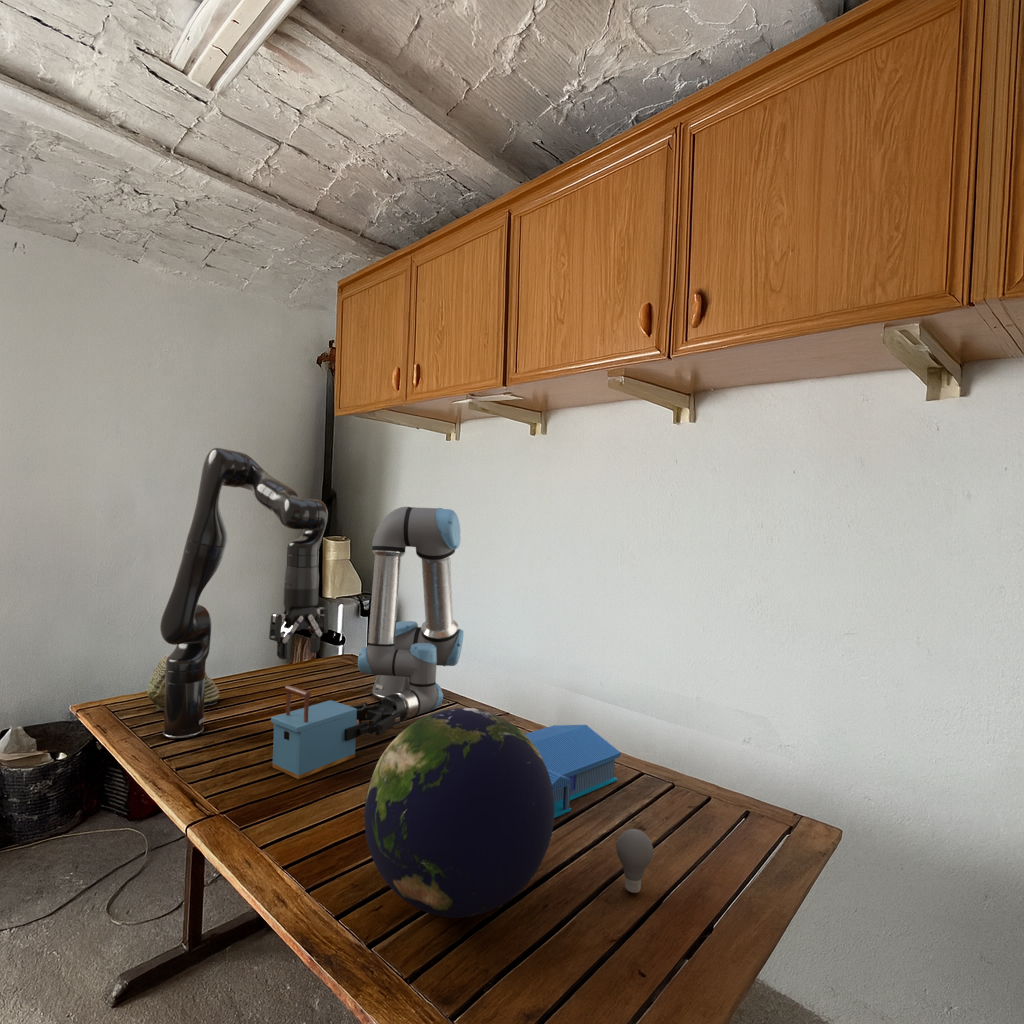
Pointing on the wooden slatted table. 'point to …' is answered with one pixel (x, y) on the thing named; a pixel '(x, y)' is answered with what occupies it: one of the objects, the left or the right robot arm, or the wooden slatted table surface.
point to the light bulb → (634, 857)
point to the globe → (459, 812)
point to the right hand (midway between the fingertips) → (331, 729)
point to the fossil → (158, 687)
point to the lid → (310, 712)
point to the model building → (574, 761)
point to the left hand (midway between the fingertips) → (298, 655)
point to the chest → (312, 747)
